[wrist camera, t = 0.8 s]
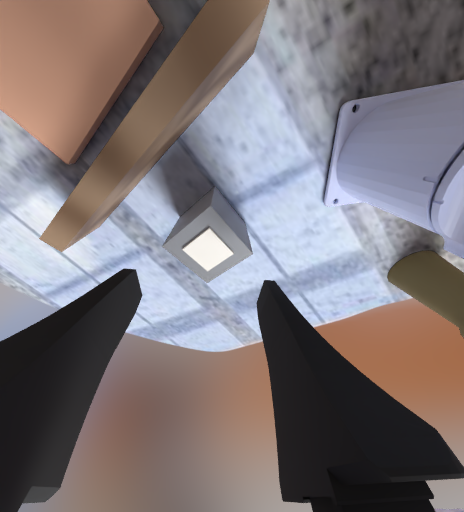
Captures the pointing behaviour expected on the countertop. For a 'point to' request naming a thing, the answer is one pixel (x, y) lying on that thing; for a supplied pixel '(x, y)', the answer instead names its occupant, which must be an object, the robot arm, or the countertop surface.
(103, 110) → the terracotta tile
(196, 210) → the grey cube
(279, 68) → the countertop surface
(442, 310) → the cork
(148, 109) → the walnut screen
